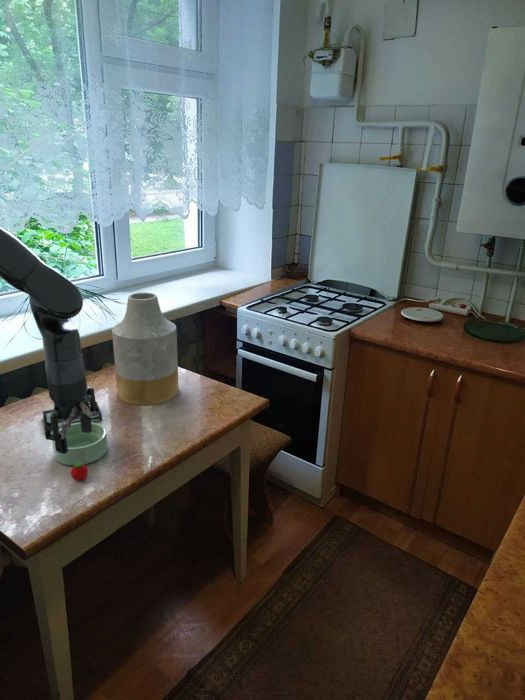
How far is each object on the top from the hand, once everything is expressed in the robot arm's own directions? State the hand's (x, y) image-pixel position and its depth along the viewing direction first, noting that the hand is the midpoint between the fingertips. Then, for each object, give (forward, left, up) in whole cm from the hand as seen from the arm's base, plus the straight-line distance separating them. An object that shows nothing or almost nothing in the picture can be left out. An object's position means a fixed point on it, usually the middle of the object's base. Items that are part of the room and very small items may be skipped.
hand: (75, 441), depth 108 cm
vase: (+44, +7, -10) cm, 45 cm away
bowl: (+9, +6, -10) cm, 14 cm away
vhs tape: (+22, +18, -10) cm, 30 cm away
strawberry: (0, 0, -10) cm, 10 cm away
